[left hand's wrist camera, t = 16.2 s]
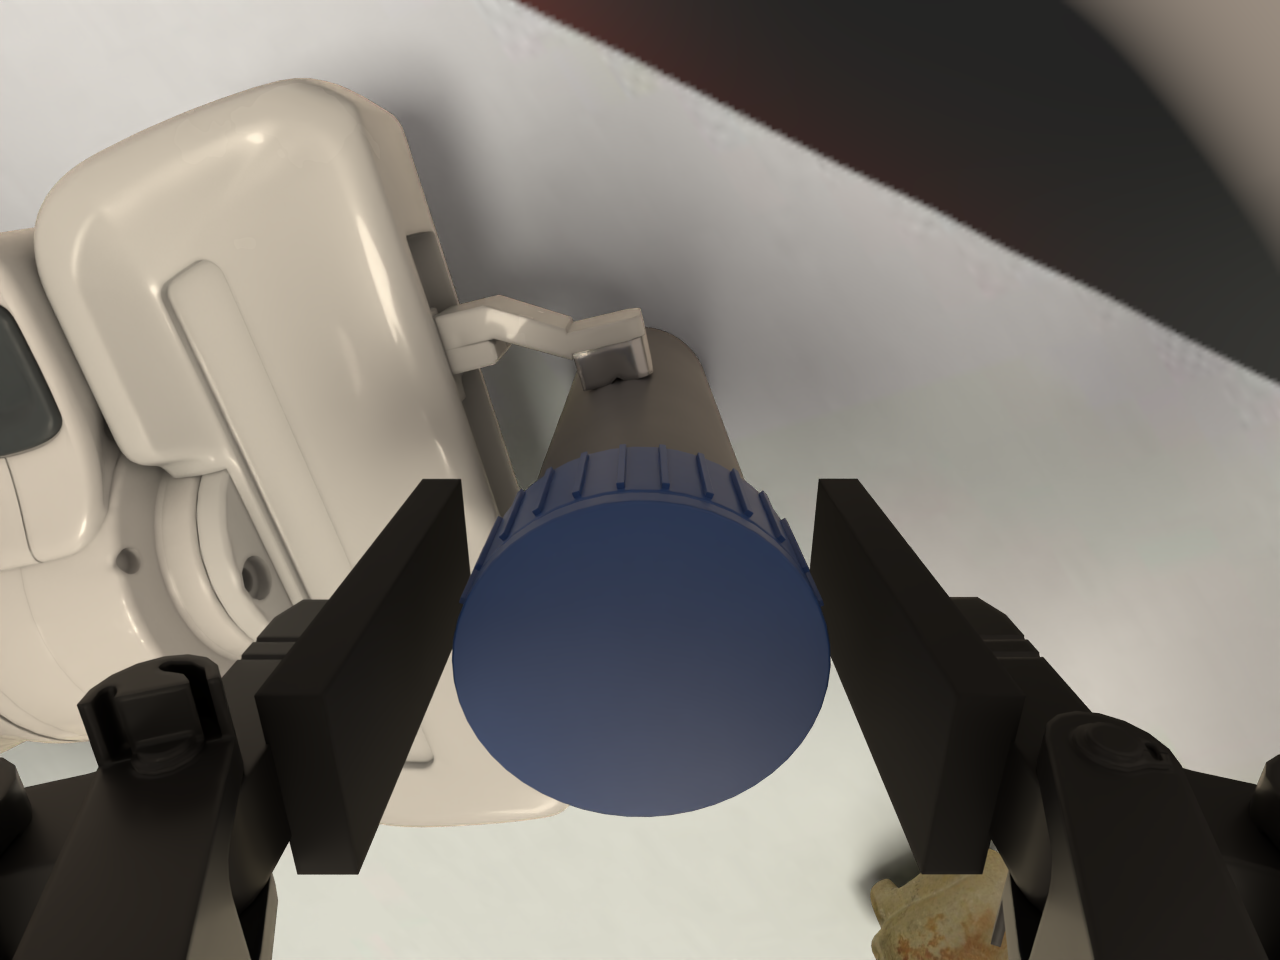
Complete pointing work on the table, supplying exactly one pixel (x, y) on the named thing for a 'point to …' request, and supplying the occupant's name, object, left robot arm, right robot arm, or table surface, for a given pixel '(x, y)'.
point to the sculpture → (940, 915)
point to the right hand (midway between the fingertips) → (673, 450)
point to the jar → (645, 411)
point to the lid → (641, 635)
